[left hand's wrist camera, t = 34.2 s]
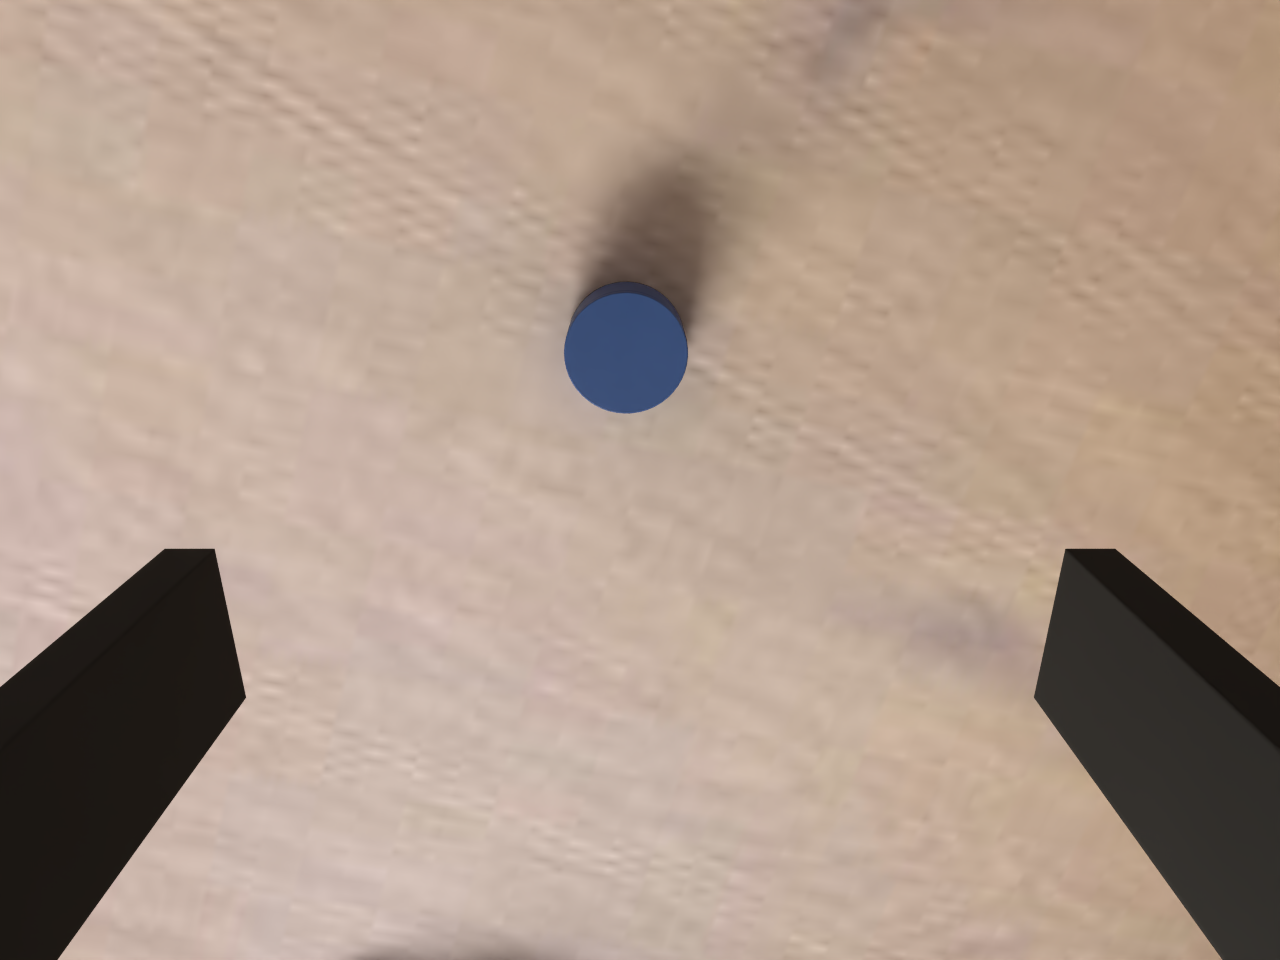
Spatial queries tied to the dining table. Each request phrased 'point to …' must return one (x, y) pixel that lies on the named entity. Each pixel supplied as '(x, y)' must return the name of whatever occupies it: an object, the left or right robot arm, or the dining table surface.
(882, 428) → the dining table surface
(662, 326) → the cap
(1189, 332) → the dining table surface
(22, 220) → the dining table surface
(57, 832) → the left robot arm
